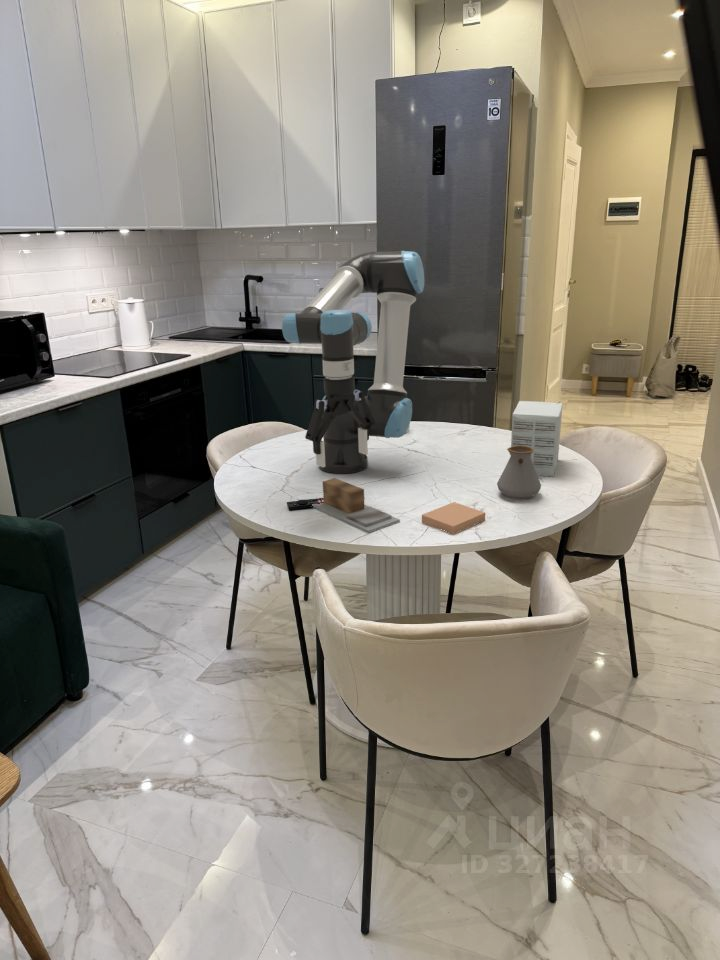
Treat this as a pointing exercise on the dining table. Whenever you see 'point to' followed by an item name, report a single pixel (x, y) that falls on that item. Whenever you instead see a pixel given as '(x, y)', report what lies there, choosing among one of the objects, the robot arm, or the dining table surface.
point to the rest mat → (342, 516)
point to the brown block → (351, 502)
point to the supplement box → (538, 433)
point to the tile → (453, 517)
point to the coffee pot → (519, 475)
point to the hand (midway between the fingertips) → (342, 459)
